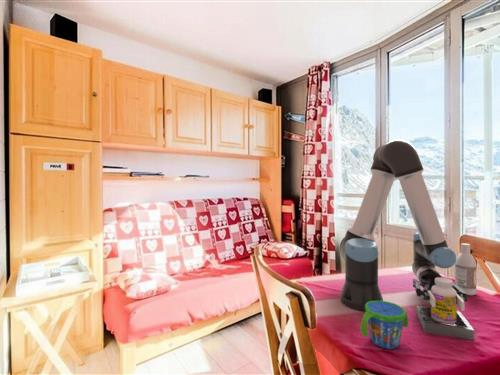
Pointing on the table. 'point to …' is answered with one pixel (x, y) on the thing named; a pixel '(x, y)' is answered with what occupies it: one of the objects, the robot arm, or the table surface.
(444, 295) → the supplement bottle
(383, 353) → the table surface
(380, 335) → the snack cup
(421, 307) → the grey square tray
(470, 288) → the bath foam
